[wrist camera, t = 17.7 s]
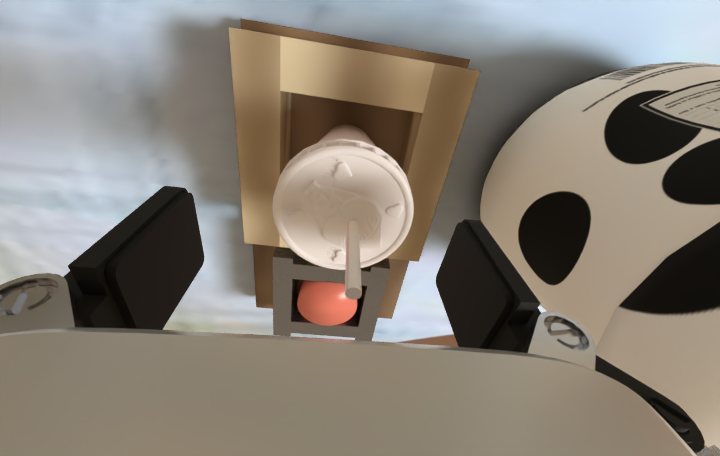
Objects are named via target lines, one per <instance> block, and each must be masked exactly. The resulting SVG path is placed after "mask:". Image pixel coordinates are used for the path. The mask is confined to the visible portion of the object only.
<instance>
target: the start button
mask: <svg viewBox="0 0 720 456" xmlns="http://www.w3.org/2000/svg"><path fill="white" fill-rule="evenodd" d="M297 306H298V310H299V312H300V313H301V315H302V316H303V317H304V318H306V319H307V320H309V321H310V322H313V323H315V324H319V325H325V326H331V325H338V324H341V323H344V322H346V321H347V320H349V319H350V318H351V317H352V316H353V315H354V314H355V312H356V309H357V299H354V300H352V299H348V298H347V297H346V296H345V284H341V283H330V282H320V281H309V280H302V283H301V287H300V292H299V297H298V302H297Z"/></svg>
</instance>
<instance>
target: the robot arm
mask: <svg viewBox="0 0 720 456" xmlns="http://www.w3.org/2000/svg"><path fill="white" fill-rule="evenodd" d="M203 262H204V252H203V247H202V242H201V236H200V231H199V225H198V220H197V215H196V209H195V204H194V198H193V195H192V194H191V193H188V192H187V190H186V189H185V188H180V187H171V186H164V187H162V188H161V189H160V190H159V191H158V192H156V193H155V194H154V195H153V196H152V197H150V198H149V199H148V200H147V201H145V202H144V203H143V204H142V205H141V206H139V207H138V208H137V209H136V210H135V211H133V212H132V213H131V214H130V215H129V216H127V217H126V218H125V219H124V220H123V221H121V222H120V223H119V224H118V225H117V226H115V227H114V228H113V229H112V230H110V231H109V232H108V233H107V234H106V235H104V236H103V237H102V238H101V239H100V240H98V241H97V242H96V243H95V244H94V245H92V246H91V247H90V248H89V249H88V250H86V251H85V252H84V253H83V254H82V255H80V256H79V257H78V258H77V259H75V260H74V261H73V262H72V263H71V264H69V265H68V267H69V269H70V272H69V273H67V274H66V275H65V276H64V277H62V276H60V275H57V274H49V273H46V274H34V275H29V276H24V277H21V278H18V279H15V280H12V281H9V282H6V283H4V284H2V285H0V456H720V449H719V448H718V447H716V446H715V445H712V446H710V447H709V448H708V447H707V446H706V445H705V441H704V438H703V435H702V433H701V431H700V430H699V428H698V427H697V425H696V424H695V422H694V421H693V420H692V419H691V418H690V417H689V416H688V414H687V413H686V412H685V411H684V410H683V409H682V408H681V407H680V406H679V405H677V404H676V403H674V402H673V401H671V400H670V399H668V398H667V397H665V396H664V395H662V394H660V393H659V392H657V391H655V390H654V389H652V388H650V387H649V386H647V385H645V384H644V383H642V382H640V381H639V380H637V379H635V378H634V377H632V376H630V375H629V374H627V373H625V372H624V371H622V370H620V369H619V368H617V367H615V366H614V365H612V364H610V363H609V362H607V361H605V360H604V359H602V358H600V357H599V356H597V355H596V346H595V342H594V340H593V338H592V337H591V335H590V334H589V333H588V332H587V331H586V329H585V328H583V327H582V326H581V325H580V324H579V323H577V322H576V321H574V320H572V319H571V318H569V317H567V316H565V315H563V314H560V313H556V312H543V313H541V312H540V311H539V309H538V306H539V305H540V304H541V303H540V302H539V300H538V299H537V297H536V296H535V295H534V293H533V292H532V291H531V289H530V288H529V286H528V285H527V284H526V282H525V281H524V280H523V278H522V277H521V275H520V274H519V273H518V271H517V270H516V269H515V267H514V266H513V264H512V263H511V262H510V260H509V259H508V257H507V256H506V255H505V253H504V252H503V251H502V249H501V248H500V246H499V245H498V244H497V242H496V241H495V240H494V238H493V237H492V235H491V234H490V233H489V231H488V230H487V229H486V227H485V226H484V224H483V223H482V222H481V221H476V220H467V219H465V220H463V221H462V223H458V224H457V226H456V228H455V231H454V233H453V236H452V238H451V241H450V244H449V246H448V249H447V251H446V254H445V256H444V259H443V261H442V264H441V266H440V269H439V271H438V274H437V277H436V285H437V288H438V291H439V293H440V296H441V299H442V302H443V305H444V307H445V310H446V313H447V316H448V318H449V321H450V324H451V327H452V329H453V332H454V335H455V338H456V341H457V343H458V346H459V347H453V346H436V345H421V344H406V343H390V342H375V341H358V340H341V339H324V338H307V337H289V336H272V335H253V334H234V333H215V332H196V331H177V330H162V329H163V328H164V326H165V324H166V323H167V321H168V320H169V318H170V316H171V315H172V313H173V312H174V310H175V308H176V307H177V305H178V304H179V302H180V300H181V299H182V297H183V296H184V294H185V292H186V291H187V289H188V288H189V286H190V284H191V283H192V281H193V280H194V278H195V276H196V275H197V273H198V272H199V270H200V268H201V267H202V265H203Z"/></svg>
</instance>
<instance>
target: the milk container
mask: <svg viewBox="0 0 720 456" xmlns="http://www.w3.org/2000/svg"><path fill="white" fill-rule="evenodd" d="M480 217H481V222H482V223H483V224H484V226H485V227H486V229H487V230H488V231H489V233H490V234H491V235H492V237H493V238H494V240H495V241H496V242H497V244H498V245H499V246H500V248H501V249H502V251H503V252H504V253H505V255H506V256H507V257H508V259H509V260H510V262H511V263H512V264H513V266H514V267H515V269H516V270H517V271H518V273H519V274H520V275H521V277H522V278H523V280H524V281H525V282H526V284H527V285H528V286H529V288H530V289H531V291H532V292H533V293H534V295H535V296H536V297H537V299H538V300H539V302H540V303H541V304H540V305H541V306H542V307H543V308H544V309H545V310H546V311H547V312H556V313H560V314H563V315H565V316H567V317H569V318H571V319H572V320H574V321H576V322H577V323H579V324H580V325H581V326H582V327H583V328H585V329H586V331H587V332H588V333H589V334H590V335H591V337H592V338H593V340H594V342H595V346H596V355H597V356H599V357H600V358H602V359H604V360H605V361H607V362H609V363H610V364H612V365H614V366H615V367H617V368H619V369H620V370H622V371H624V372H625V373H627V374H629V375H630V376H632V377H634V378H635V379H637V380H639V381H640V382H642V383H644V384H645V385H647V386H649V387H650V388H652V389H654V390H655V391H657V392H659V393H660V394H662V395H664V396H665V397H667V398H668V399H670V400H671V401H673V402H674V403H676V404H677V405H679V406H680V407H681V408H682V409H683V410H684V411H685V412H686V413H687V414H688V416H689V417H690V418H691V419H692V420H693V421H694V422H695V424H696V425H697V427H698V428H699V430H700V431H701V433H702V435H703V438H704V441H705V445H706V446H707V447H708V448H709V447H710V446H712V445H715V446H716V447H718V448H719V449H720V65H715V64H707V63H681V62H676V63H662V64H650V65H644V66H638V67H632V68H626V69H621V70H616V71H613V72H609V73H605V74H602V75H599V76H596V77H593V78H591V79H588V80H586V81H584V82H581V83H579V84H577V85H575V86H573V87H571V88H569V89H568V90H566V91H564V92H563V93H561V94H559V95H558V96H556V97H555V98H553V99H552V100H550V101H549V102H547V103H546V104H544V105H543V106H542V107H540V108H539V109H538V110H536V111H535V112H534V113H532V114H531V115H530V116H529V117H528V118H527V119H526V120H525V121H524V122H523V123H522V124H521V125H520V126H519V128H518V129H517V130H516V131H515V132H514V133H513V134H512V135H511V136H510V137H509V139H508V140H507V141H506V142H505V144H504V145H503V146H502V148H501V149H500V151H499V153H498V154H497V156H496V158H495V160H494V162H493V164H492V166H491V168H490V170H489V172H488V175H487V177H486V180H485V183H484V187H483V191H482V197H481V205H480Z"/></svg>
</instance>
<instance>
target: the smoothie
mask: <svg viewBox="0 0 720 456" xmlns="http://www.w3.org/2000/svg"><path fill="white" fill-rule="evenodd" d="M413 215H414V203H413V197H412V194H411V189H410V186H409V183H408V180H407V177H406V174H405V173H404V172H403V170H402V169H401V168H400V166H399V165H398V163H397V162H396V161H395V160H394V159H393V158H392V157H391V156H389V155H388V154H387V153H385V152H384V151H383V150H382V149H380V148H378V147H376V146H375V145H374V143H373V142H372V141H371V140H370V138H369V137H368V136H367V134H366V133H365V132H364V131H363V130H361V129H360V128H358V127H356V126H354V125H349V124H344V125H339V126H336V127H334V128H332V129H331V130H330V131H329V132H328V133H327V134H326V135H325V136H324V137H323V138H322V139H321V140H320V141H319V142H318V143H316V144H314V145H312V146H310V147H307V148H305V149H303V150H302V151H301V152H300V153H298V154H297V155H296V156H295V157H294V158H292V159H291V160H290V161H289V162H288V164H287V165H286V167H285V168H284V170H283V172H282V173H281V175H280V176H279V180H278V184H277V186H276V189H275V192H274V197H273V218H274V222H275V225H276V228H277V230H278V232H279V234H280V236H281V237H282V239H283V240H284V242H285V243H286V244H287V245H288V246H289V248H290V249H292V250H293V251H294V252H295V253H296V254H297V255H299V256H300V257H302V258H303V259H305V260H307V261H309V262H311V263H313V264H315V265H318V266H321V267H325V268H330V269H337V270H345V296H346V297H347V298H348V299H352V300H354V299H358V298H360V297H361V295H362V288H361V268H364V267H367V266H370V265H373V264H375V263H377V262H380V261H381V260H383V259H385V258H386V257H388V256H389V255H391V254H392V253H393V252H394V251H395V250H396V249H397V248H398V247H399V246H400V245H401V244H402V242H403V241H404V239H405V238H406V236H407V234H408V232H409V230H410V228H411V224H412V221H413Z"/></svg>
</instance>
